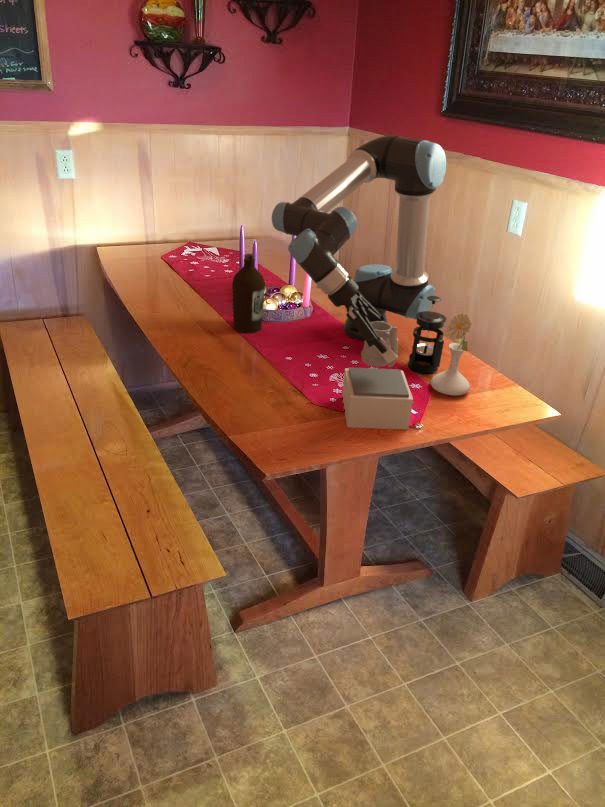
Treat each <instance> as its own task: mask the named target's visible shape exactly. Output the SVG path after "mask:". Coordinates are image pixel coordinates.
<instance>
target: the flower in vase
mask: <svg viewBox="0 0 605 807" xmlns="http://www.w3.org/2000/svg"><path fill="white" fill-rule="evenodd" d="M471 326H472V319H471V317H470V315H469V313H464V312H461V313H457V315H454V316H453V317H452V319H451V320H450V322H449V324H448V326H447V327H448V329H447V335H448V336H449V339H450V340H455V341H456V342H452V343H449V344H448V348H449V350H450V356H451V357H450V363H449V366H448V368H447V369H446V370H444V371H441V372H439V373H437V374H435V375H433V377H431V379H430V380H429V381H430V385H431V387H432V388H433V390H435V391H436V392H439V393H440V394H444V395H449V396H462V395H465V394H467V393H468V392H469V391H470V389H471V385H470V382H469V381H468V380H467V378H466V377H465V376H464V375H463V374H461V373H460V372H459V362H460V359H461V357H462V355H463V353H464V352H468V344H469V343H468V341H467V340H466V339H465V338H466V334H467V333H469V332H470V329H471Z"/></svg>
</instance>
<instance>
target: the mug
mask: <svg viewBox="0 0 605 807" xmlns="http://www.w3.org/2000/svg"><path fill="white" fill-rule="evenodd" d="M370 323H371V325H372V326H373V328H374V329H375V331H376V333H377V334H378V336H379V337H380V338H382V339H383V340H384V341H385V342H386V343H387V345H388V346H389V347H390V348H391V349H392V350H393V352H394V353H395V354H396V355H397V356H398V355H399V354H398V353H399V350H398V348H399V347H398V346H399V345H398V341H397V338H398V334H397V331H398V327H397V326H392V325H391V324H389V323H386V322H382V321H380V322H379V321H375V322H370ZM372 339H373V338H372ZM360 355H361V361H362V362H363V363H364V364H366V365H368V366H371V367H377V368H378V367H384V366H388V368H392V367H394V365H395V364H396V362H397V360H398V357H397V358H396V359H395V360H393V361H392V362H390V363H388V362H387V361H386V360H385V359H384V358H383V356H382V355H381V354H380V353H379V352H378V351H377V349H376V348H375V347H374V346H373V345H372V346H371V347H369V346H368V343H367V342H366V341H364V344H363V348H362V350H361V353H360Z"/></svg>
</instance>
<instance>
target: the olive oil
mask: <svg viewBox="0 0 605 807" xmlns="http://www.w3.org/2000/svg"><path fill="white" fill-rule="evenodd" d="M243 256H244V259H243V266H242V267H241V268H240V269H239V270H238V271H237V272H236V273H235V275H234V276H233V278H232V282H231V283H232V284H231V285H232V286H231V288H232V289H231V290H232V310H233V312H232V313H233V314H232V315H233V317H232V319H233V320H232V322H233V329H234V330H235V331H237V332H240V333H244V334H253V333H257V331H258V332H259V331H261V330H262V328H263V327H262V326H263V316H264V301H265V291H266V289H265V288H266V283H265V278H264V276H263V274H262V273H261V272H260V271H259V269H257V268H256V266H255V254H253V253H245V254H244V255H243Z"/></svg>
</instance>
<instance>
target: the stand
mask: <svg viewBox="0 0 605 807" xmlns="http://www.w3.org/2000/svg"><path fill="white" fill-rule="evenodd" d="M343 374H344V375H343V384H342V385H343V387H342V392H341V395H342V396H341V398H342V397H343V400H342V404H343V403H344V406H343V410H344V409H345V412H344V417H345V421H346V422H345V423H346V427H347V428H353V429H354V428H356V429H357V428H358V429H359V428H360V429H385V430H409V429H410V428H409V427H410V420H411V414H412V409H413V403H414V398H413V395H412V392H411V390H410V387H409V384H408V381H407V378H406V375H405V372H404V371H403V370H401V369H399V368H398V369H397V368H394V369H393V368H369V367H350V366H349V367H347V368H344V372H343Z"/></svg>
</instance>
